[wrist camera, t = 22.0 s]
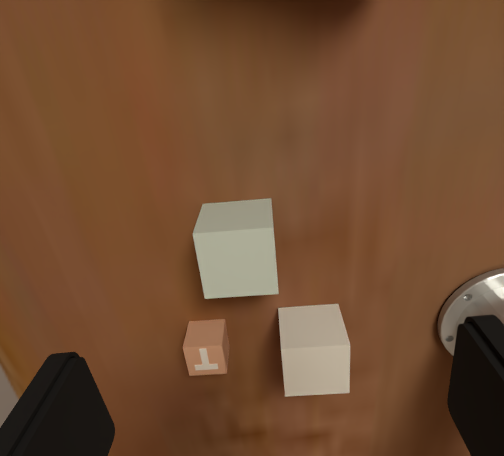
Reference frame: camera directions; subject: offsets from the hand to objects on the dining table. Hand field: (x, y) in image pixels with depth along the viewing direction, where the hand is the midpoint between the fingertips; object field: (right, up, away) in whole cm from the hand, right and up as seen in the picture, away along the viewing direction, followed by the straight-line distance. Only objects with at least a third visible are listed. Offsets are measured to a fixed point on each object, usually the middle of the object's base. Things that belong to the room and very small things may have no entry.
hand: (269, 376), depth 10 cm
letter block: (-5, -8, +33) cm, 34 cm away
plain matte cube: (-2, +3, +27) cm, 27 cm away
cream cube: (+6, -7, +32) cm, 34 cm away
